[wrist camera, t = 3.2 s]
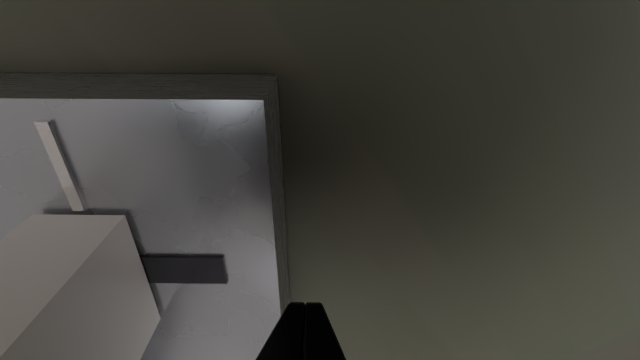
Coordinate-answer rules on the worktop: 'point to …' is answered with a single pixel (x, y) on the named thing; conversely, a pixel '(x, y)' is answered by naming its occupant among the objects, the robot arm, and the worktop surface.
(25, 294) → the fader tab
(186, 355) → the console
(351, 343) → the worktop surface
